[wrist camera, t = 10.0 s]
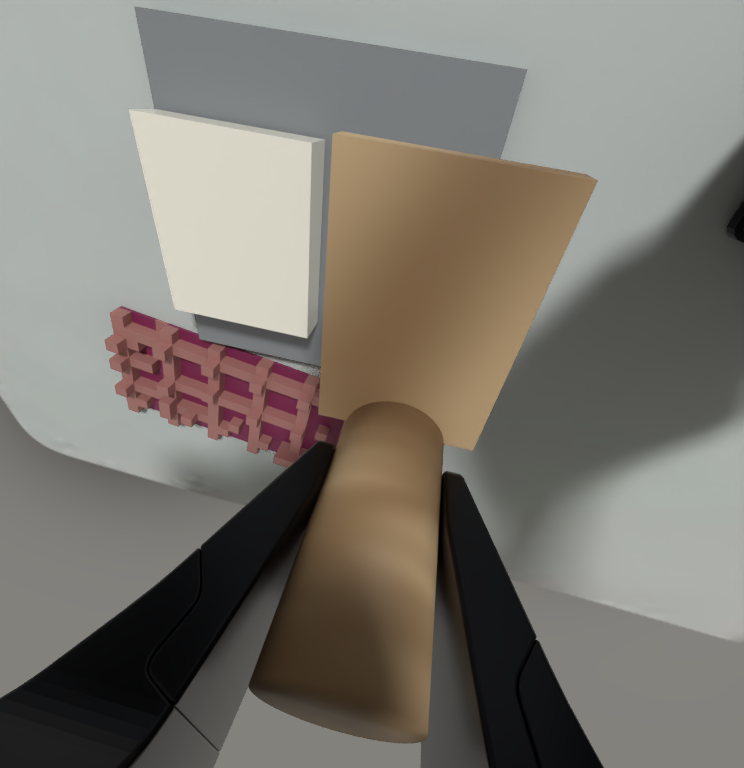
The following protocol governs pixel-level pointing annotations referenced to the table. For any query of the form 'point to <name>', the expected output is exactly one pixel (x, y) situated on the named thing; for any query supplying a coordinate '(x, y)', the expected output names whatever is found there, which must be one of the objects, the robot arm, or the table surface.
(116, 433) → the table surface
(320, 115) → the mat
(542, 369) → the table surface
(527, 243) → the turner
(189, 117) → the tile
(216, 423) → the red lattice rack
